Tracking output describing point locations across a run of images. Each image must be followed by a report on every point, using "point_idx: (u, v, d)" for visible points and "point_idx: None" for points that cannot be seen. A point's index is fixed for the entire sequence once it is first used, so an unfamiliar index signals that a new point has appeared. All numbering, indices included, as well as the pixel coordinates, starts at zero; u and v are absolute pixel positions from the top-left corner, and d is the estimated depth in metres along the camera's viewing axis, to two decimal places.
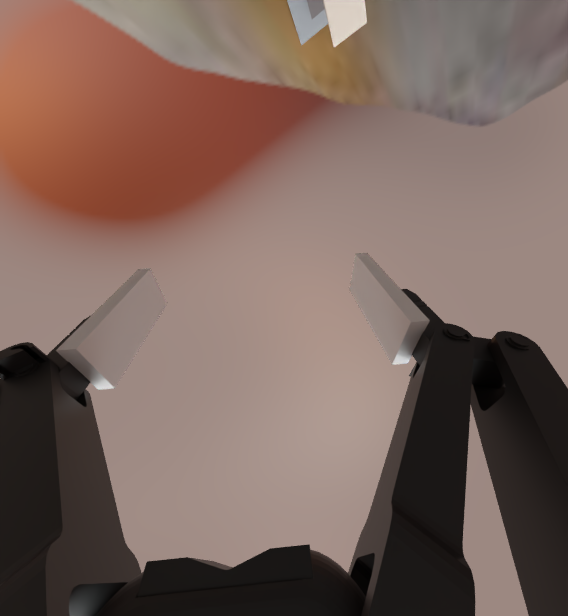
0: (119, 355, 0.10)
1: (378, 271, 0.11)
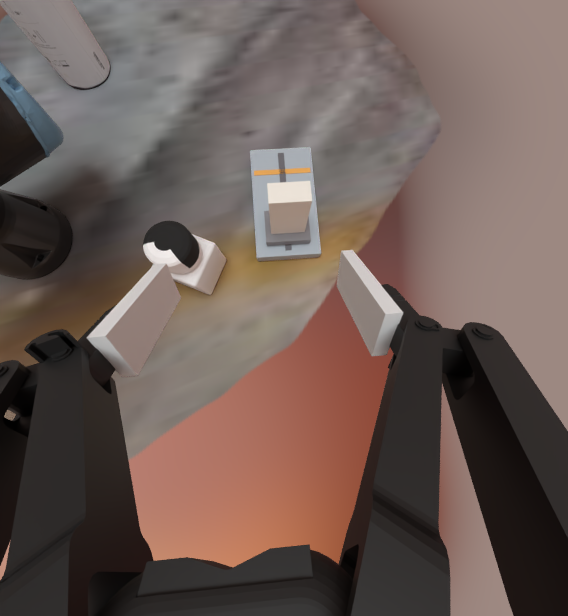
0: (141, 345, 0.10)
1: (361, 267, 0.12)
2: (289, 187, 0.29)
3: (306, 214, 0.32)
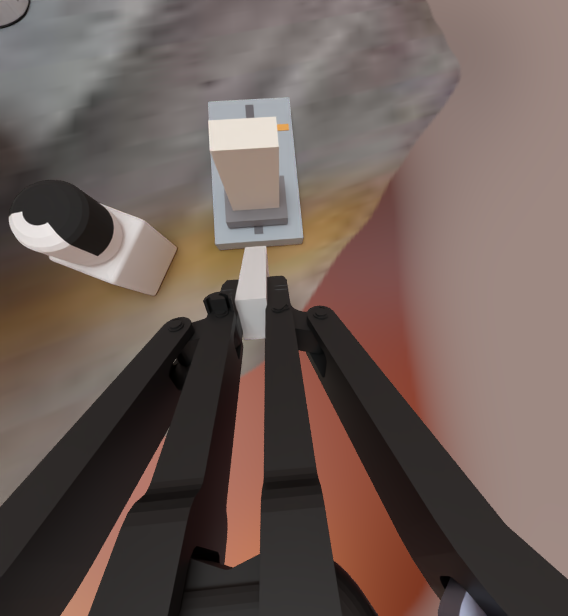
0: None
1: (261, 260, 0.13)
2: (243, 126, 0.19)
3: (275, 175, 0.22)
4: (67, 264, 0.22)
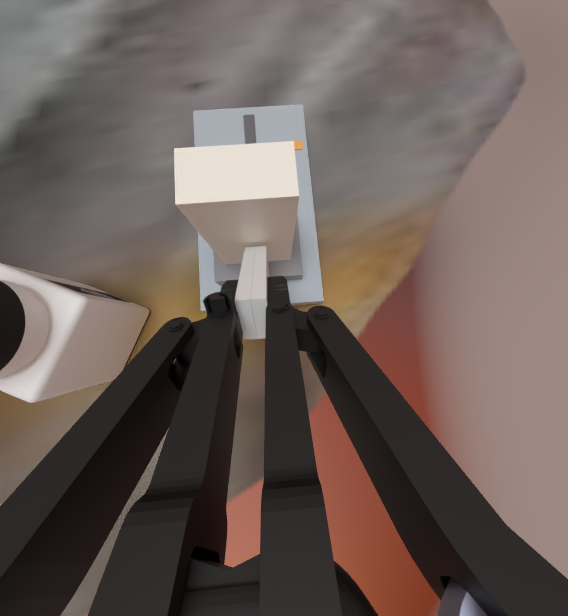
0: None
1: (261, 260, 0.13)
2: (236, 159, 0.10)
3: (289, 229, 0.14)
4: None
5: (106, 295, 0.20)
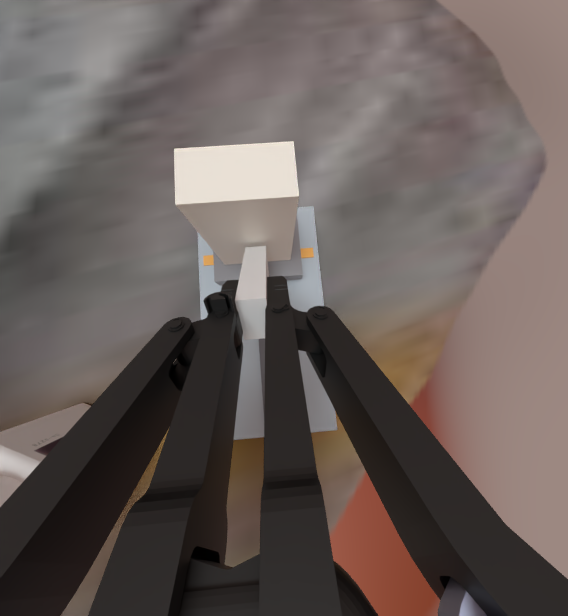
0: None
1: (261, 260, 0.13)
2: (236, 159, 0.10)
3: (288, 229, 0.14)
4: None
5: None
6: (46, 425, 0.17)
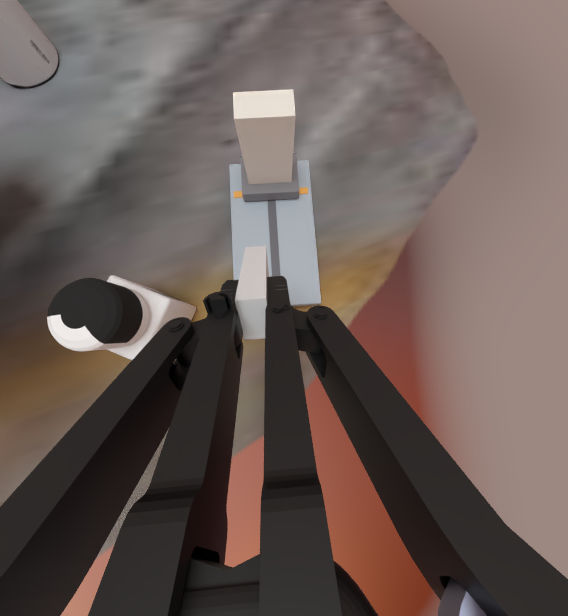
0: None
1: (261, 260, 0.13)
2: (263, 98, 0.21)
3: (290, 145, 0.24)
4: None
5: (170, 296, 0.28)
6: (139, 284, 0.27)
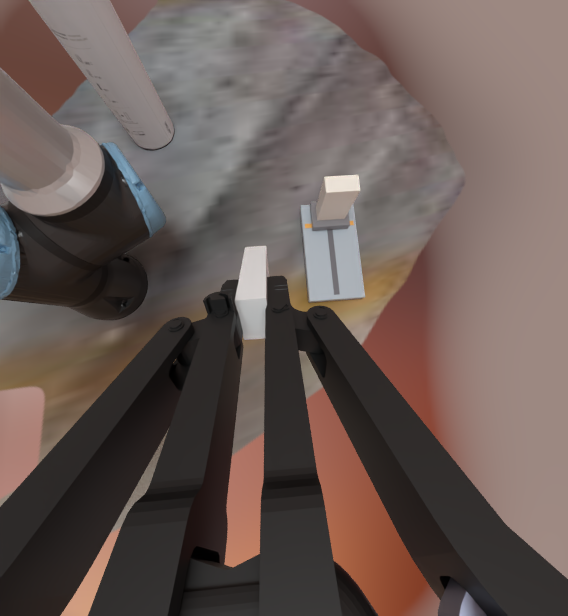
0: None
1: (261, 260, 0.13)
2: (342, 180, 0.37)
3: (351, 202, 0.40)
4: None
5: None
6: None
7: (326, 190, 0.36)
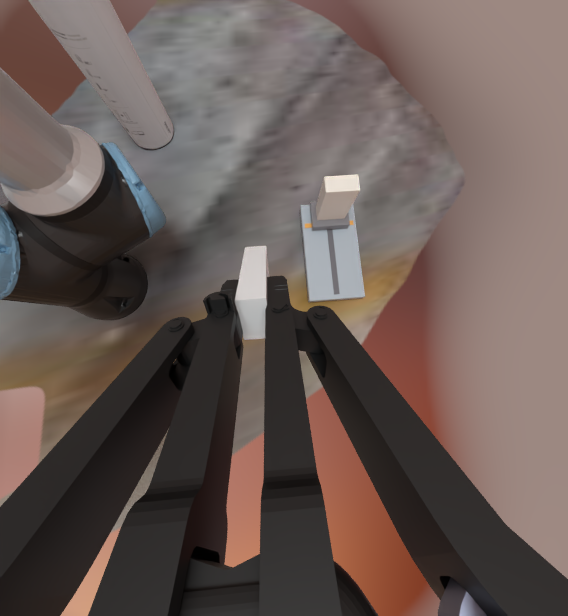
0: None
1: (261, 260, 0.13)
2: (341, 179, 0.37)
3: (351, 202, 0.40)
4: None
5: None
6: None
7: (326, 190, 0.36)
